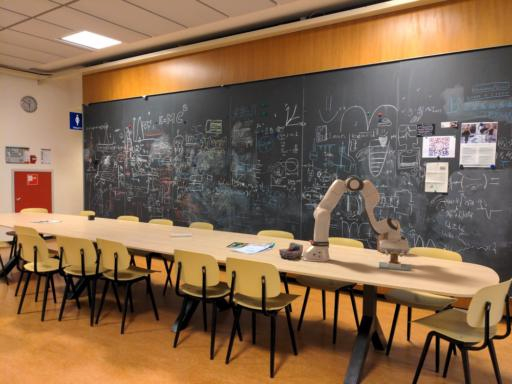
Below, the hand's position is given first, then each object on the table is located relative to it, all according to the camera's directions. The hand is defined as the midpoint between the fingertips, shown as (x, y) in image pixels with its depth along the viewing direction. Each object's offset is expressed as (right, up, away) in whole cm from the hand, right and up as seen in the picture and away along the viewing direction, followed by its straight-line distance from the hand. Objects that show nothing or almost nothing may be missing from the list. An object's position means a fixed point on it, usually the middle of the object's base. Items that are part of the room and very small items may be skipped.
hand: (394, 255), depth 272 cm
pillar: (-1, -6, -3) cm, 7 cm away
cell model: (-72, -5, +22) cm, 75 cm away
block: (+10, -6, +50) cm, 51 cm away
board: (-1, -8, -3) cm, 8 cm away
